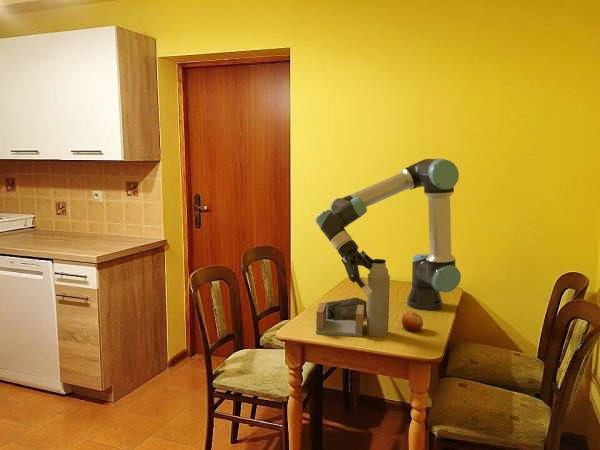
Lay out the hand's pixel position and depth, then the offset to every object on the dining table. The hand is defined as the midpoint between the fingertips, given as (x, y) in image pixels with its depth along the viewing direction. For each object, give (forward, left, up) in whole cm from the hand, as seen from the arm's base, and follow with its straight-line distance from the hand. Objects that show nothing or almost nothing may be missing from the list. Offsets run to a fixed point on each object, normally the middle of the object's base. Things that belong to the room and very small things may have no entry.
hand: (378, 289), depth 190 cm
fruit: (-13, -7, -17) cm, 22 cm away
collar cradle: (+14, -3, -17) cm, 22 cm away
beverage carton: (+15, -19, -17) cm, 30 cm away
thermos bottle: (0, -1, -17) cm, 17 cm away
